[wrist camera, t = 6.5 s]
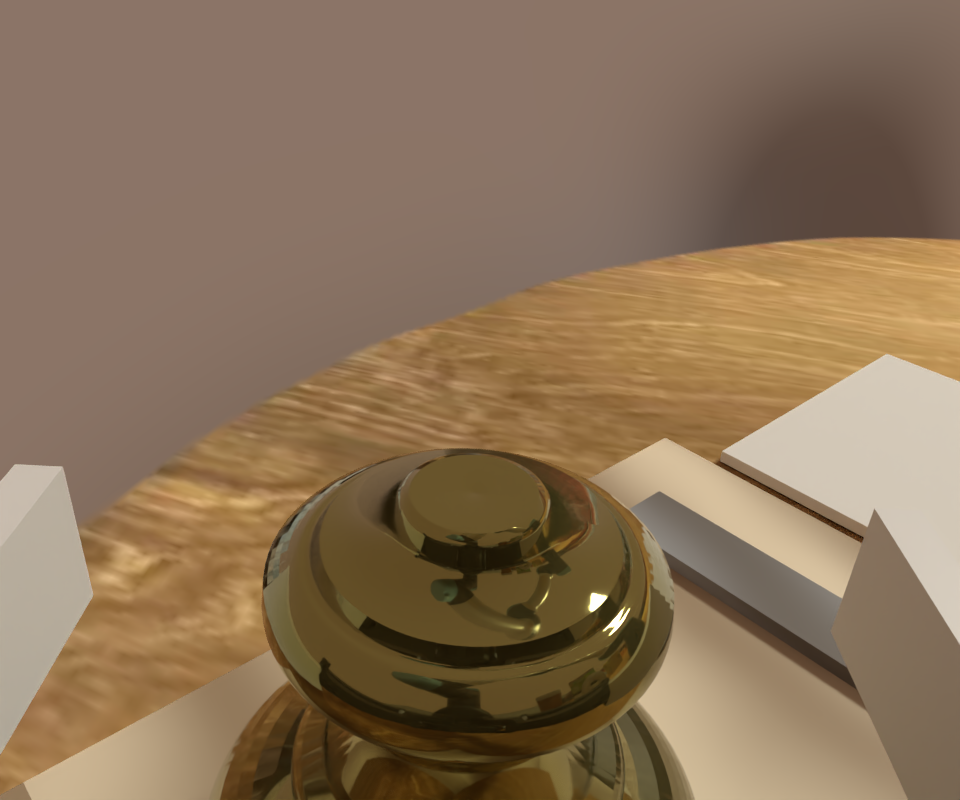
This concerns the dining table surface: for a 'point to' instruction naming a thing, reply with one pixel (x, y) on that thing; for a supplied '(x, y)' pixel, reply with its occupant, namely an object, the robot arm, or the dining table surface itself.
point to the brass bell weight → (461, 640)
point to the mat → (867, 449)
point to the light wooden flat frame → (674, 692)
